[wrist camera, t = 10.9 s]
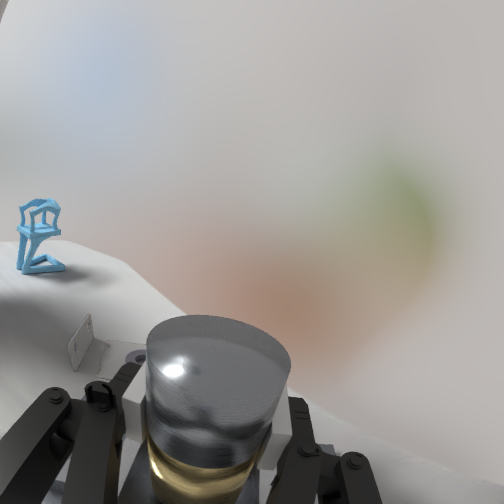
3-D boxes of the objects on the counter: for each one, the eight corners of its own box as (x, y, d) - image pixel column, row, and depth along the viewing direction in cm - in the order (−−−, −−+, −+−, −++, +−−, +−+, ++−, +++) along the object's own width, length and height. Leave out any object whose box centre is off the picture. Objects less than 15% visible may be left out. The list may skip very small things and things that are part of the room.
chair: (12, 265, 35) (12, 196, 32) (46, 258, 43) (49, 195, 40) (27, 279, 33) (27, 202, 30) (65, 270, 40) (69, 201, 38)
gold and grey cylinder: (141, 503, 9) (122, 369, 7) (162, 443, 14) (170, 304, 12) (237, 524, 9) (298, 408, 7) (242, 460, 14) (285, 329, 12)
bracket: (173, 393, 22) (175, 365, 22) (71, 374, 20) (67, 344, 19) (175, 354, 29) (178, 327, 28) (90, 339, 26) (88, 312, 26)
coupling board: (18, 499, 6) (-5, 473, 5) (89, 399, 18) (83, 368, 17) (352, 572, 6) (383, 558, 5) (328, 451, 18) (344, 425, 17)
